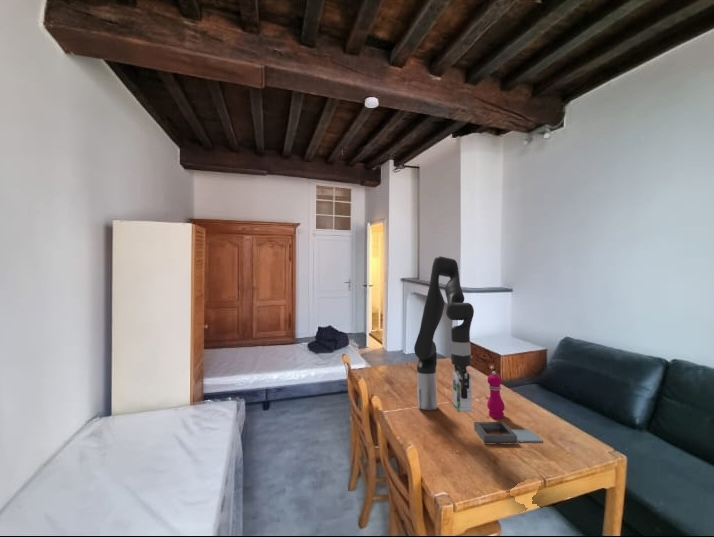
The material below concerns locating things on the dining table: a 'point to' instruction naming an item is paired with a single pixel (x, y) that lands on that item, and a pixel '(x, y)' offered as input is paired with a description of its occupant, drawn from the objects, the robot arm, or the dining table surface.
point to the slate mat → (527, 436)
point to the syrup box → (458, 401)
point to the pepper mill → (495, 397)
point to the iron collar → (495, 438)
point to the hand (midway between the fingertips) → (462, 394)
